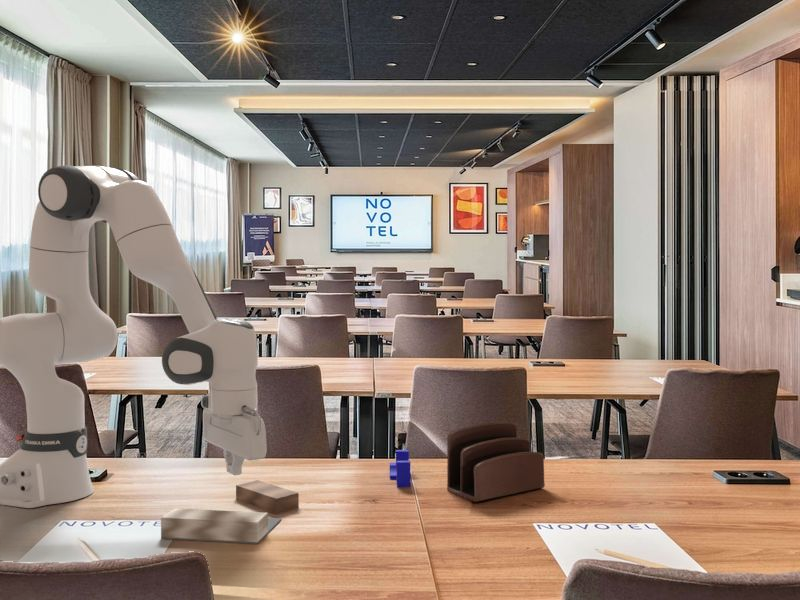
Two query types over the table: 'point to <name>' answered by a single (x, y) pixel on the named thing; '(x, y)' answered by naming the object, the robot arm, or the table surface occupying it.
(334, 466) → the table surface
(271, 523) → the underlay mat
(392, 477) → the cable clip
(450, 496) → the table surface
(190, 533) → the beige wooden block
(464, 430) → the letter holder
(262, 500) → the walnut plank
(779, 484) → the table surface
